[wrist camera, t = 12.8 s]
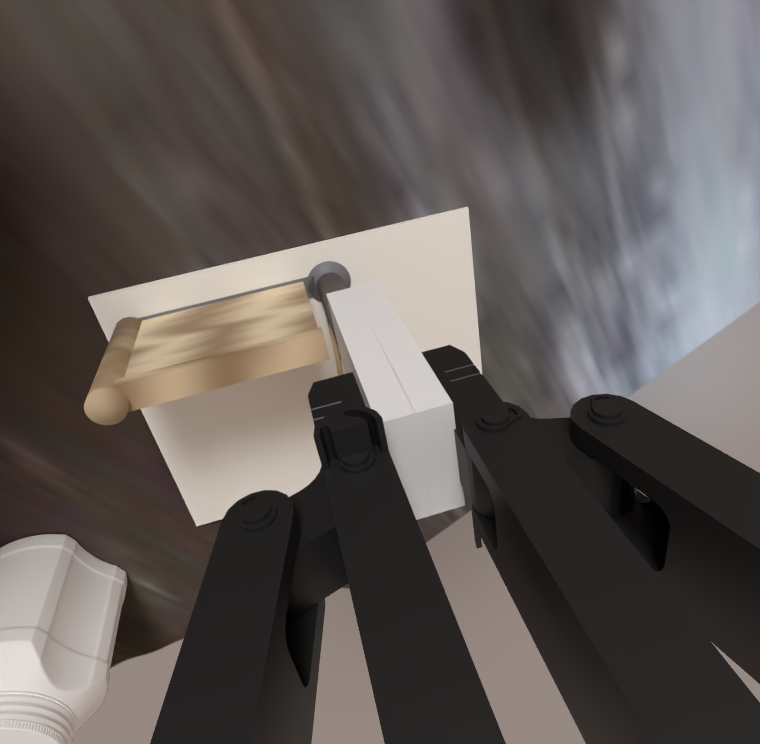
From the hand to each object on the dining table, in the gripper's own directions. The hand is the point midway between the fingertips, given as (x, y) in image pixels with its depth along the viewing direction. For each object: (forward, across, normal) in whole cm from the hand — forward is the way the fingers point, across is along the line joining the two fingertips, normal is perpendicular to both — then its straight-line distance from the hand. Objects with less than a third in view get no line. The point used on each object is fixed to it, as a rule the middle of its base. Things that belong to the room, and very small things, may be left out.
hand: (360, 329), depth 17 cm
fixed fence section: (+24, -7, -8) cm, 27 cm away
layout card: (+24, -2, -16) cm, 29 cm away
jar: (+25, -28, -29) cm, 47 cm away
